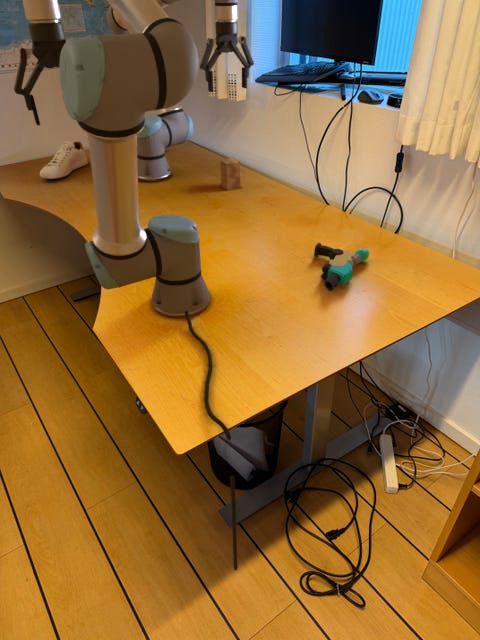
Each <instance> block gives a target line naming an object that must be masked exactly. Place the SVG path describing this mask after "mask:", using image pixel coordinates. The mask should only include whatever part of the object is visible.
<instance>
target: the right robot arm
mask: <svg viewBox="0 0 480 640" xmlns="http://www.w3.org/2000/svg"><path fill="white" fill-rule="evenodd" d="M21 1H22V4H23V10H24V15H25V18H26V20H27V21H29V23H28V24H27V28H28V31H29V36H30V40H31V44H32V45H31V46H32V47H31V48H25V47H23V46H21V47H19V48H18V53H19V64H18V67H17V72H16V77H15V81H14V86H13V91H14V93H15V94H17V95H20V96H23V98H24V102H25V107H26V108H27V110H28V111H32V114H33V119H34V121H35V125H36V126H41V121H40V118H39V114H38V113H39V112H38V109H37V105H36V102H35V97H34V95H33V94H31V93H32V91H33V89H34V88H35V85H36V83H37V81H38V79H39V78H40V76H41V74H42V72H43V71H44V69H45V68H47V69H49V70H50V69H54V68H58V70H59V82H60V89H61V91H62V92H61V93H62V100H63V103H64V108H65V110H66V112H67V115H68V116H69V117H70V118H71V119H72V120H74V121H76V122H77V126H78V127H79V128H80V129H81V131H83V133H86V134H87V140H88V150H89V158H90V159H89V160H90V168H91V174H92V175H91V177H92V181H93V182H92V184H93V185H92V186H93V194H94V202H95V210H96V219H97V225H96V227H95V228H94V229H93V231H92V234H91V235H92V237H91V238H92V240H89V241H87V242H86V243H85V244H84V249H85V252H86V254H87V255H86V256H87V258H88V260H89V262H90V265H91V267H92V270H93V273H94V274H95V277H96V278H97V281H98V283H99V284H100V286H101V287H102V288H103V289H104V290H113V289H117V288H122V287H127V286H129V285H132V284H136V283H139V282H143V281H147V280H149V279H153V278H155V281H154V284H153V290H152V294H151V305H152V308H153V310H154V311H155V312H156V313H157V314H159V315H160V316H163V317H167V318H171V319H183V318H185V319H186V322H187V326H188V329H189V333H190V334H191V336H192V337H193V338H194V339H196V340H197V341H198V343H200V345H202V347H203V348H204V350H205V352H206V355H207V362H208V363H207V364H208V369H207V374H206V378H205V381H204V382H205V383H204V399H203V401H204V407H205V411H206V413H207V416H208V417H209V419H211V420H212V421H213V422H214V423H216V425H218V426H219V427H220V428H221V430H222V431H223V433H224V435H225V437H226V439H227V441H231V440H232V436H231V433H230V430H229V428H228V427H227V426H226V424H225V423H224V422H223V421H222V420H221V419H220V418H218V417H217V416H216V415H215V414H214V413H213V412H212V410H211V406H210V400H209V399H210V398H209V396H210V382H211V377H212V374H213V359H212V358H213V357H212V353H211V351H210V348H209V347H208V344H207V343H206V342H205V341H204V340H203V338H201V337H200V336H199V335H198V334H197V333H196V332H195V330H194V328H193V323H192V321H191V317H194V316H196V315H199V314H201V313H202V312H204V311H205V310H207V308H208V307H209V306H210V303H211V294H210V290H209V288H208V286H207V284H206V281H205V278H204V277H203V275H202V262H201V261H202V259H201V243H200V242H201V238H200V234H199V228H198V225H197V224H196V222H195V221H194V220H192V219H191V218H188V217H187V216H183V215H178V214H159V215H156V216H153V217H152V218H150V219H149V220H148V223H147V228H144V227H142V225H140V211H139V209H140V207H139V206H140V205H139V180H138V167H137V160H138V158H137V134H138V133H140V132H141V131H142V130H143V128H144V126H145V117H146V112H152V111H158V110H159V109H165V108H169V107H172V106H174V105H176V104H178V105H179V103H181V102H182V101H183V100H184V99H185V98H186V97H187V96H188V95H189V93H191V91H192V89H193V88H194V86H195V83H196V80H197V77H198V72H199V68H200V65H199V63H200V62H199V60H200V59H199V53H198V48H197V45H196V42H195V40H194V38H193V36H192V34H191V33H190V31H188V29H187V28H186V27H185V25H183V23H182V22H180V21H179V20H178V19H176V18H174V17H170V16H169V15H168V14H167V13H166V11H165V10H164V8H163V9H162V8H161V6H160V5H159V4H158V3H157V1H156V0H106V2H107V3H108V4H109V6H111V7H112V8H113V10H114V11H115V13H116V14H117V16H118V17H119V18H120V20H121V21H122V23H123V24H124V26H125V27H126V28H127V30H128V31H129V33H130V34H119V35H117V34H105V35H104V34H103V35H97V34H89V35H87V36H81V37H75V38H70V39H68V40H67V38H66V34H65V29H64V24H63V22H62V21H61V19H62V13H61V9H60V5H59V0H21ZM32 55H33V56H34V57H35V58H36V59H37V62H36V63H35V65H34V68H33V70H32V72H31V74H30V76H29V78H28V79H27V80H26V81H27V82H26V83H25V85H24V87H23V83H24V78H25V74H26V71H27V70H26V69H27V64H28V60H29V59H31V56H32ZM235 482H236V481H235V475H229V483H230V499H231V523H232V525H231V528H232V556H233V557H232V558H233V570H234V571H238V538H237V504H236V503H237V501H236V500H237V499H236V483H235Z"/></svg>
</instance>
